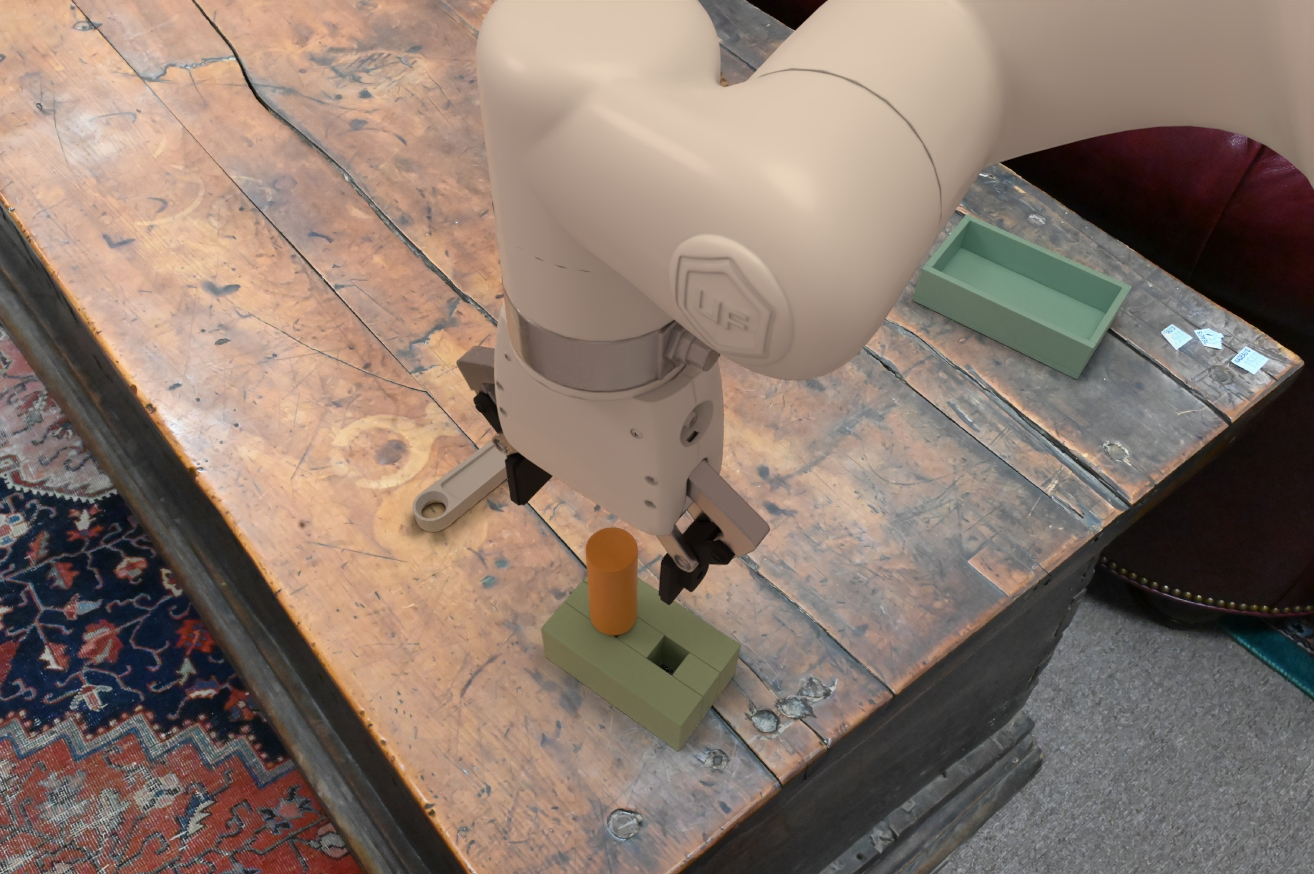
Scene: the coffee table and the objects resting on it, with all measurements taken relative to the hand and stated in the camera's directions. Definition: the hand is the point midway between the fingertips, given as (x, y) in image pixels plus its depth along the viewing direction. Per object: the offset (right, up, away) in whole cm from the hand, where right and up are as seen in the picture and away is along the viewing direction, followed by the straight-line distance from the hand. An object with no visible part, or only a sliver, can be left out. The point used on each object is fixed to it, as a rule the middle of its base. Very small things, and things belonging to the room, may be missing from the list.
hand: (606, 532), depth 53 cm
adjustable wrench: (-5, +7, +22) cm, 23 cm away
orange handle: (0, -8, +11) cm, 13 cm away
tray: (+32, +15, +29) cm, 46 cm away
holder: (+2, -9, +10) cm, 14 cm away
